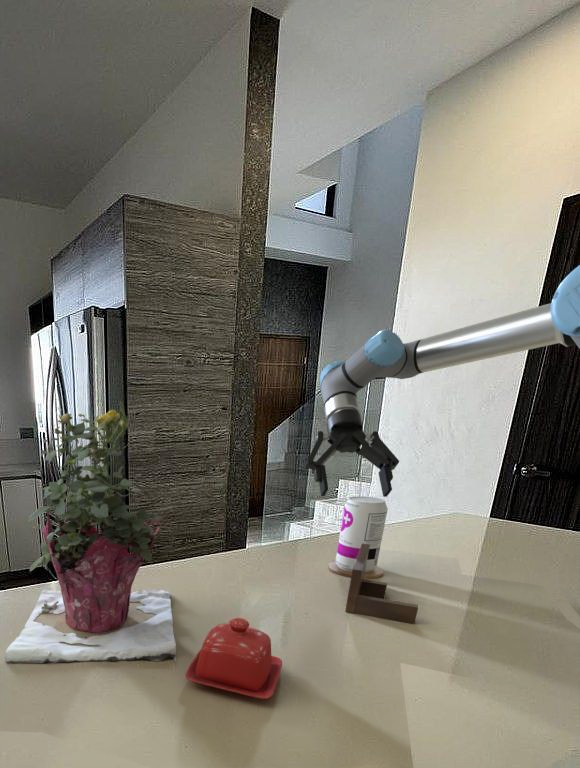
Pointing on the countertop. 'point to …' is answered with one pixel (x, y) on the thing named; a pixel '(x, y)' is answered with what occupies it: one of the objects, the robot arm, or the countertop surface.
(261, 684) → the butter dish
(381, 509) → the supplement can
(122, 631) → the potted flower
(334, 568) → the cork coaster
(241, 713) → the countertop surface
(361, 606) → the dark wooden l-bracket
